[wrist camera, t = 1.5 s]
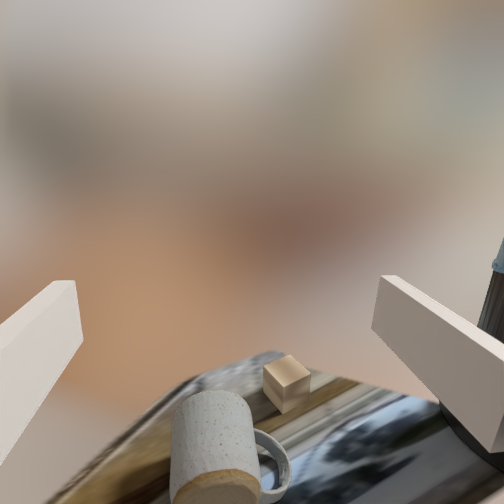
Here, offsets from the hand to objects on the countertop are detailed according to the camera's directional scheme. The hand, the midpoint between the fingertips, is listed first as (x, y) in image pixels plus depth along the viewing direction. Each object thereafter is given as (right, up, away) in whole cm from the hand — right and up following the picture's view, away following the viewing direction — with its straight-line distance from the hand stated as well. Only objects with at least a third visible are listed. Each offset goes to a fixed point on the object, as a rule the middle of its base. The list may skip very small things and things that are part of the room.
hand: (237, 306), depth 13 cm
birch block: (+5, -15, +24) cm, 29 cm away
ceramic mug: (-1, -19, +15) cm, 24 cm away
